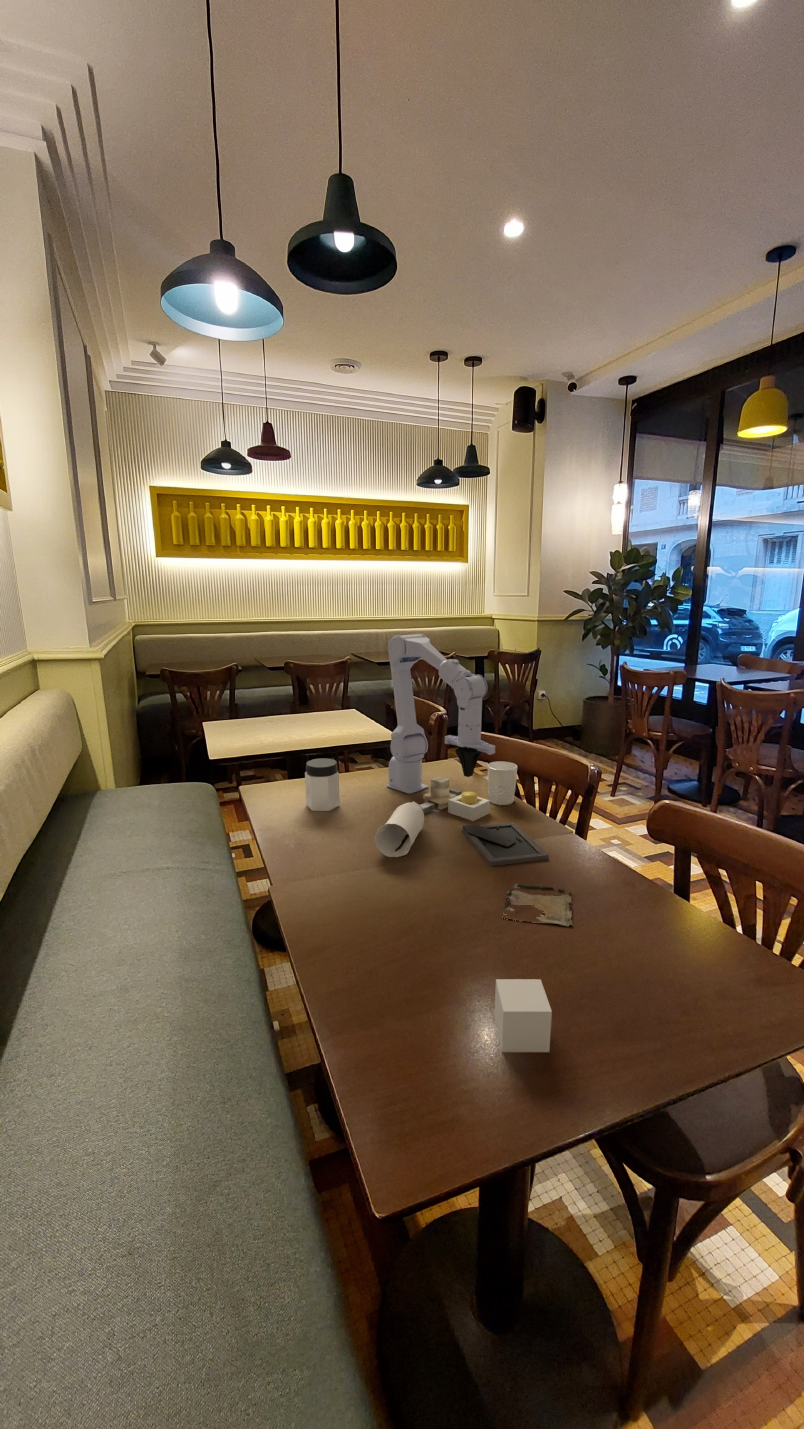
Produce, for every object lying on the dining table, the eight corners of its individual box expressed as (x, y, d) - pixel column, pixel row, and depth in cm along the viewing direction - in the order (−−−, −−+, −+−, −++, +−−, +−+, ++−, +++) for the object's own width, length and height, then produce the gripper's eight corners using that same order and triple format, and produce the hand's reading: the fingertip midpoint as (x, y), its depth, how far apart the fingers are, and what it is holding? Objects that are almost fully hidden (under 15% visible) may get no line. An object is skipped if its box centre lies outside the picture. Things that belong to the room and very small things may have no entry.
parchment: (572, 893, 110) (572, 888, 110) (573, 931, 98) (573, 926, 98) (506, 884, 114) (507, 880, 113) (500, 921, 101) (500, 916, 101)
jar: (302, 803, 155) (300, 760, 153) (331, 797, 159) (329, 756, 156) (313, 814, 148) (312, 769, 145) (343, 808, 151) (342, 765, 149)
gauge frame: (448, 812, 149) (448, 799, 148) (464, 805, 154) (465, 792, 153) (473, 821, 143) (473, 807, 143) (489, 813, 148) (490, 800, 147)
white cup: (480, 798, 159) (481, 763, 157) (504, 793, 162) (506, 759, 160) (497, 808, 152) (498, 771, 150) (521, 803, 155) (523, 767, 153)
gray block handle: (400, 816, 146) (400, 807, 145) (451, 796, 160) (451, 788, 159) (411, 820, 144) (411, 811, 143) (461, 799, 158) (461, 791, 157)
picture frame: (462, 833, 138) (489, 868, 120) (462, 825, 137) (490, 859, 120) (514, 828, 141) (548, 861, 123) (514, 820, 140) (548, 853, 123)
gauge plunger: (457, 809, 148) (458, 794, 147) (467, 804, 151) (467, 790, 150) (470, 813, 145) (470, 798, 145) (479, 808, 148) (480, 794, 147)
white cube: (501, 1053, 72) (503, 1011, 71) (494, 1018, 78) (495, 979, 77) (549, 1052, 72) (552, 1011, 71) (538, 1017, 78) (540, 979, 77)
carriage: (423, 803, 154) (423, 779, 152) (437, 798, 158) (438, 774, 157) (441, 810, 150) (442, 784, 148) (456, 803, 154) (456, 779, 152)
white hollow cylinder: (431, 826, 140) (431, 795, 139) (409, 861, 123) (410, 826, 121) (400, 823, 143) (400, 792, 141) (374, 856, 125) (374, 821, 123)
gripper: (437, 721, 146) (436, 772, 149) (483, 731, 136) (481, 786, 139) (454, 717, 151) (453, 766, 154) (501, 726, 141) (498, 779, 144)
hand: (468, 775), depth 147 cm, fingers closed
